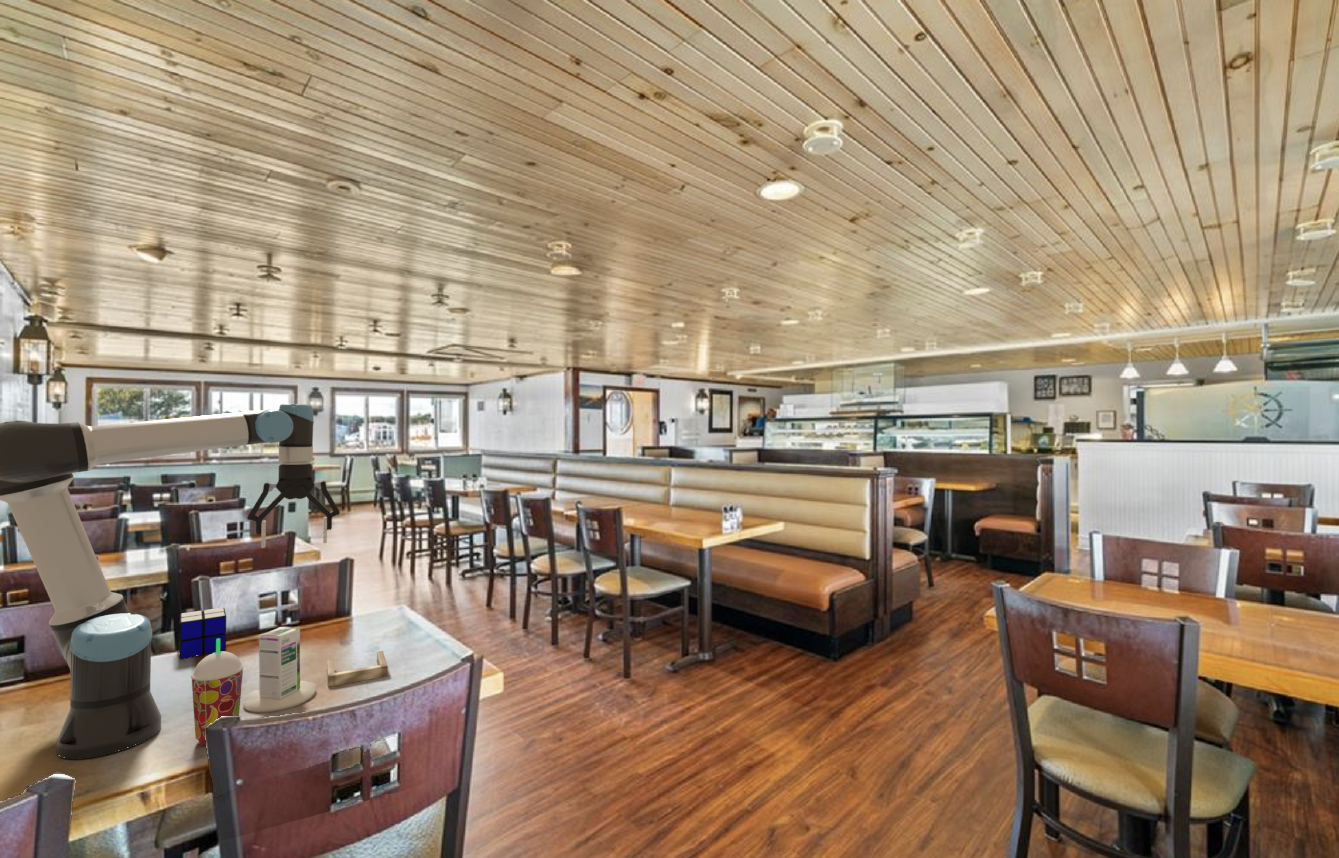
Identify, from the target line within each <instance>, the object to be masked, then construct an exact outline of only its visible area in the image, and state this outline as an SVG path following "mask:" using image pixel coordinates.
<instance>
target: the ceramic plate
mask: <svg viewBox="0 0 1339 858" xmlns="http://www.w3.org/2000/svg"><path fill="white" fill-rule="evenodd" d="M316 693H317V686H316V684H315V683H313V682H311V681H307V680H300V689H299V690H297V691H295V692H293V693H291V694H289V695H287V696H285V697H284V698H282V699H281V700H276V699H267V698H261V697H260V696H259V688H258V689H255V690H254V691H251V692H249V693H248V694H247V695H246V696H245V697H244V698H243V703H242V707H243V709H244V710H245V711H248V712H252V713H271V712H272V713H273V712H279V711H283V710H286V709H291V708H294V707H296V706H299V705H301V704H304V703H306V702H308V701H309V700H310V699H312V698H314V696H315V695H316ZM278 710H279V711H278Z"/></svg>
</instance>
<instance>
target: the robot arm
mask: <svg viewBox="0 0 1339 858" xmlns="http://www.w3.org/2000/svg"><path fill="white" fill-rule="evenodd" d="M313 441H314V410H313V406H311V405H310V404H303V403H301V404H300V403H297V404H296V403H282V404H280V405H279V408H278V409H274V408H273V409H271V408H270V409H266V410H265V409H263V410H262V409H261V410H260V409H259V410H257V409H256V410H254V409H253V410H251V409H250V410H248V409H247V410H246V409H230V410H229V409H227V410H225V411H224V412H223V413H221V414H220V413H219V414H212V415H211V414H210V415H209V414H208V415H200V416H189V417H178V418H177V417H176V418H167V419H157V420H146V421H145V420H143V421H134V422H133V421H132V422H123V423H113V424H101V425H91V426H90V425H87V424H85V423H82V422H81V421H79V422H78V421H75V422H64V423H63V422H62V423H53V422H52V423H49V422H48V423H45V422H44V423H43V422H32V421H27V420H13V421H5V422H1V423H0V501H2V502H4V503H6V504H7V505H8V506H9V507H8V508H9V509H10V511H11V514H12V515H13V518H14V521H15V523H16V525H17V527H18V529H19V532H20V534H21V537H22V540H23V541H24V543H25V546H26V548H27V550H28V552H29V555H30V556H31V559H32V561H33V564H34V566H35V568H36V570H37V573H38V575H39V578H40V580H41V582H42V583H43V587H44V588H45V591H46V593H47V596H48V598H49V600H50V602H51V604H52V606H53V609H54V613H53V615H52V616H51V617H50V619H49V621H48V624H49V627H50V629H51V631H52V633H53V635H54V637H55V640H56V642H57V645H58V646H57V647H58V651H59V653H60V654H61V657H63V659H65V662H66V663H67V665H68V668H69V671H70V687H69V688H70V689H69V690H70V693H69V694H70V696H69V697H70V698H69V699H70V703H69V705H70V707H69V711H68V714H67V716H66V718H65V720H64V724H63V726H62V728H61V730H60V733H59V735H58V737H57V740H56V755H57V754H58V755H60V756H61V757H65V758H71V759H70V760H84V759H83V758H86V759H92V757H93V758H97V757H103V756H107V754H108V755H111V753H112V754H115V753H116V752H115V751H118V750H122V749H125V748H127V747H130V748H132V747H131V746H133V745H135V744H138V743H140V742H142V741H144V740H146V741H147V739H148V738H149V739H151V738H152V737H154V736H155V735H156V734H158V733H159V732H160V730H161V729H162V715H161V713H160V709H159V708H158V706H157V703H156V701H155V699H154V697H153V694H152V691H151V669H152V668H151V667H152V666H151V665H152V662H151V661H152V659H151V658H152V657H151V656H152V638H153V630H152V625H151V624H152V623H151V620H149V618H147V616H144V615H143V614H142V615H141V614H139V613H135V614H133V613H131V612H130V610H129V608H128V605H127V602H126V601H125V597H124V595H123V594H121V593H117V592H112V591H111V589H110V587H109V585H108V583H107V580H106V577H105V575H104V573H103V571H102V568H101V565H100V563H99V561H98V557H97V556H96V554H95V551H94V549H93V547H92V543H91V541H90V539H89V536H88V535H87V532H86V529H85V527H84V525H83V522H82V520H81V518H80V515H79V513H78V511H77V507H76V505H75V503H74V501H73V498H72V496H71V493H70V491H69V485H71V484H72V481H73V480H74V479H75V478H74V475H73V474H75V473H82V472H84V473H85V472H89V471H91V470H92V469H93V468H94V467H95V466H97V465H104V464H110V463H118V462H125V461H126V462H127V461H133V460H140V459H149V458H156V457H164V456H171V455H178V454H179V455H180V454H186V453H194V452H201V451H209V450H217V449H224V448H226V449H227V448H233V447H240V446H247V445H248V446H249V445H256V444H258V445H259V444H265V443H269V444H274V443H275V444H276V443H278V462H279V463H281V464H279V465H278V481H277V483H274V482H273V483H272V482H269V481H267V482H265V483H264V484H263V488H262V491H261V492H262V493H261V494H260V495H259V497H258V499H257V500H256V502H255V504H254V505H253V507H252V508H251V510H250V512H249V514H248V516H247V520H249V521H254V522H255V534H256V535H261V536H260V537H261V538H260V539H261V540H260V544H261V545H260V548H261V549H263V548H264V549H265V548H266V545H267V544H266V542H267V541H266V540H267V539H266V538H267V537H266V535H267V533H266V532H267V530H266V529H267V525H266V524H267V520H264V519H265V518H266V517H267V516H268V515H269V514H270V512H271V511H273V510H274V508H276V506H278V505H279V503H280V502H282V501H283V500H284V498H285V499H286V500H294V499H297V500H303V499H305V498H307V499H308V500H309V501H310V502H311V503H312V504H313V505H314V506H315V507H316V508H318V510H319V511H320V512H321V513H322V514H323V515H324V516H325V517H323V526H322V527H323V532H322V533H323V536H322V537H323V540H322V541H323V544H327V541H328V539H327V538H328V531H330V530H332V527H333V517H335V516H338V515H340V513H341V512H340V510H339V508H338V506H337V505H336V502H335V501H334V499H333V497H332V496H331V494H330V492H329V491H328V489H327V482H326V481H325V480H321V481H314V480H313V477H314V476H313V473H314V472H313V471H314V469H313V467H314V465H313V464H312V463H311V462H313V460H314V459H313V457H314V445H313V443H314V442H313ZM315 487H316V488H317V490H321V492H322V494H323V496H324V499H326V501H327V503H328V504H329V506H330V508H331V510H332V511H330V510H329V509H328V508H327V507H326V506H325V505H324V504H322V502H321V501H320V500H319V499H318V498H317V497H315V495H314V494H313V493H312V490H313V489H314V488H315ZM275 488H276V490H278V491H279V493H280V494H278V496H277V497H276V498H274V499H273V501H272V502H271V503H270V504H268V506H267V507H266V508H265V509H264V510H263V511H262V512H261V513H260V514H259V515H257V513H258V511H259V509H260V508H261V506H262V504H263V502H264V501H265V499H266V498H267V496H268V494H269V493H270V492H272V491H273V489H275ZM150 737H151V738H150ZM149 739H148V740H149ZM144 742H145V741H144ZM142 743H143V742H142ZM140 744H141V743H140ZM138 745H139V744H138ZM135 746H136V745H135ZM133 747H134V746H133ZM125 750H126V749H125ZM122 751H123V750H122ZM114 752H115V753H114ZM118 752H119V751H118ZM58 755H57V756H58ZM61 757H60V758H61ZM65 758H64V759H65ZM79 758H81V759H79Z"/></svg>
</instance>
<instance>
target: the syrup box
mask: <svg viewBox="0 0 1339 858" xmlns="http://www.w3.org/2000/svg"><path fill="white" fill-rule="evenodd" d="M300 629H301V628H299V627H293V626H279V627H277V628H275V629H273V630H270V631H267V632H264V633H261V634H259V636H258V647H259V648H258V650H259V651H258V669H259V671H258V673H259V675H258V677H259V678H258V679H259V680H258V681H259V684H258V685H259V686H258V687H259V688H258V689H259V696H260V697H261V698H267V699H276V700H281V699H282V698H284V697H285V696H287V695H289V694H291V693H293V692H295V691H297V690H299V689H300V681H301V630H300Z"/></svg>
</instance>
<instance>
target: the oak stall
mask: <svg viewBox="0 0 1339 858" xmlns="http://www.w3.org/2000/svg"><path fill="white" fill-rule="evenodd" d="M376 664H377V665H372V666H368V667H367V666H366V667H360V668H354V669H349V670H344V671H343V670H342V671H339V672H336V669H335V658H331V659H326V668H327V669H326V674H327V676H326V677H327V678H326V679H327V687H328V688H329V687H334V686H340V685H344V684H351V683H356V682H361V681H367V680H371V679H379V678H382V677H388V667H389V666H388V662H387V660H386V656H385V652H384V650H380V651H376Z"/></svg>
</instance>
